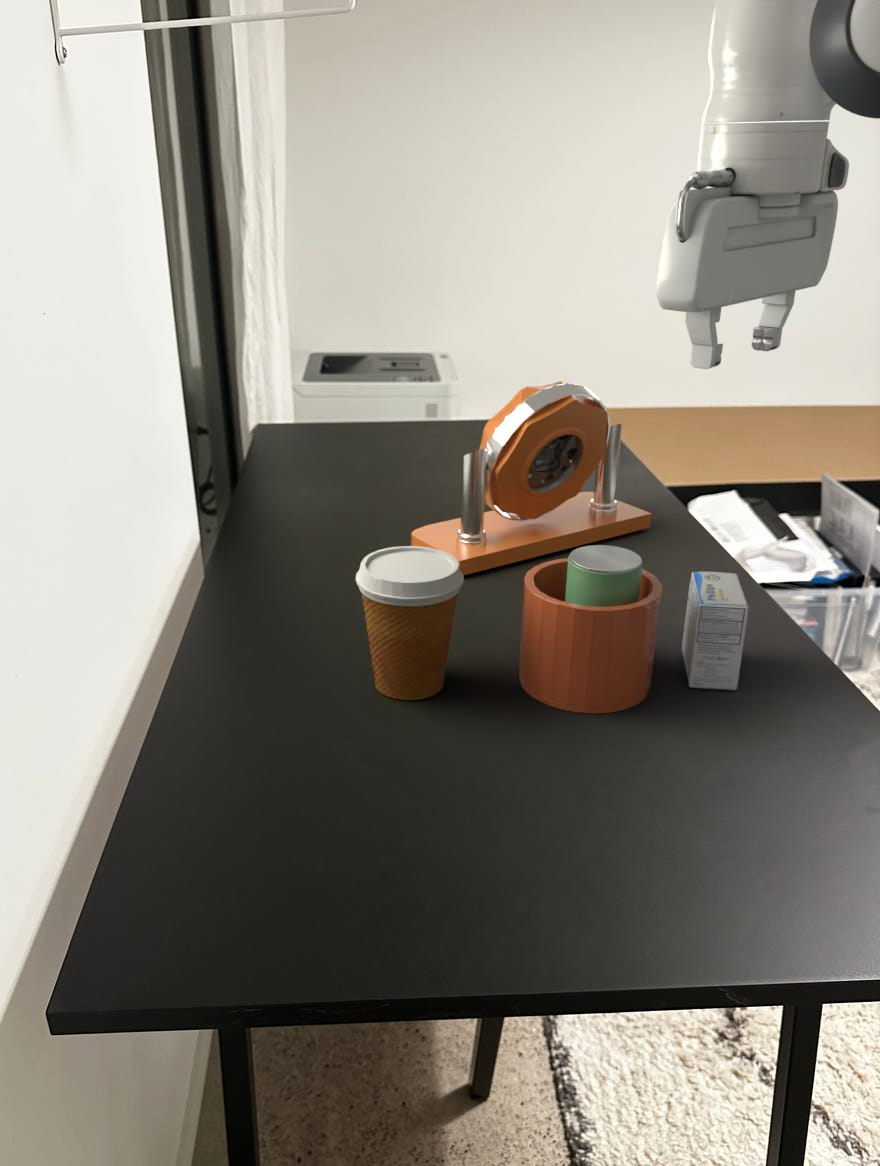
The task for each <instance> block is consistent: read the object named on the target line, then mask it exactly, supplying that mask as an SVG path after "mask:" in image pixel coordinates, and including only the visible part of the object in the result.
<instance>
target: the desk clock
mask: <svg viewBox="0 0 880 1166" xmlns="http://www.w3.org/2000/svg"><path fill="white" fill-rule="evenodd" d="M610 418H611V417H610V414H609V411H608V409H607V407H606V405H605V404H604V403H603V402H602V401H601V399H600V398H599V397H598V396H597V395H596V394H595V393H594V392H593V391H592V390H590V389H589V388H587V387H586V386H584V385H580V384H578V383H569V382H563V381H557V382H553V383H548V384H544V385H536V386H535V385H533V386H532V385H531V386H530V385H529V386H528V385H527V386H525V387H524V388H521V389H520V390H519V391H518V392H517V393H516V394H515V395H514V396H513V397H512V398H511V399H510V400H509V402H508V403H507V404H505V405H504V407H503V408H501V409H500V410H499V411H498V412H497V413H496V414H495V415H494V416H492V417H491V418H490V419H489V420H488V421H487V422H486V424H485V426H484V427H483V430H482V437H481V441H480V445H479V449H478V450H474V451H471V452H469V453H467V454H464V455H463V456H462V460H461V488H460V489H461V495H460V517H458V518H452V519H449V520H445V521H440V522H436V523H430V524H427V525H424V526H421V527H418V528H416V529H414V530H413V531H411V532H410V546H419V547H428V548H433V549H437V550H441V551H444V552H446V553H449V554H450V555H452V556H453V557H455V558H456V559H457V561H458V564H459V568H460V571H461V572H462V574H463V576H467V575H470V574H475V573H478V572H482V571H486V570H490V569H494V568H498V567H502V566H504V565H505V566H507V565H509V564H513V563H514V564H515V563H517V562H521V561H525V560H529V559H532V558H537V557H541V556H544V555H548V554H552V553H556V552H560V551H564V550H567V549H571V548H575V547H579V546H583V545H587V544H591V543H596V542H598V541H603V540H606V539H610V538H615V537H619V536H623V535H626V534H630V533H634V532H637V531H638V532H639V531H641V530H642V531H643V530H646V529H650V528H651V522H652V512H649V511H647V510H644V509H641V508H639V507H637V506H633V505H631V504H630V503H626V502H623V501H621V500H618V499H616V492H617V491H616V490H617V480H618V472H619V471H618V470H619V459H620V450H621V438H622V429H623V423H617V424H616V423H615V424H613V425H611V419H610ZM594 472H595V473H594ZM593 473H594V484H593V485H594V486H593V491H581V490H582V489H583V487H584V485H585V484H586V483H587V481H589V479H590V477H591V476H592V475H593ZM485 505H487V506H488V507H489V508H491V509H492V510H489V511H485Z"/></svg>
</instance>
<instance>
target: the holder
mask: <svg viewBox="0 0 880 1166" xmlns="http://www.w3.org/2000/svg"><path fill="white" fill-rule="evenodd" d="M567 568H568V557H566V558H557V559H553V560H548V561H544V562H542V563H540V564H537V565H535V566H533V567H532V568H531V569H529V570H528V571H527V572H526V574H525V576H524V579H523V593H522V613H521V615H522V616H521V631H520V632H521V633H520V646H519V663H518V664H519V665H518V672H519V673H518V680H519V684H520V686H521V687H522V689H523V690H524V691H525V693H527V695H529V696H530V697H532V698H533V699H535V700H536V701H537V702H540V703H542V704H544V705H547V706H548V707H549V706H550V707H552V708H555V709H558V710H561V711H566V712H571V713H572V712H573V713H579V714H610V713H617V712H620V711H625V710H628V709H631V708H633V707H635V706H637V705H639V704H640V703H642V702H643V701H645V699H646V698H647V697H648V695H649V693H650V690H651V682H652V676H653V675H652V674H653V665H654V658H655V650H656V641H657V634H658V624H659V616H660V608H661V599H662V591H663V585H662V583H661V582H660V580H659V579H658V578H657V577H656V576H655V575H654V574H653V573H651V572H649V571H647V570H645V569H643V568H642V574H641V583H640V592H639V601H638V602H635V603H631V604H627V605H620V606H611V607H594V606H584V605H577V604H573V603H568V602H565V594H566V581H567Z"/></svg>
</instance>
